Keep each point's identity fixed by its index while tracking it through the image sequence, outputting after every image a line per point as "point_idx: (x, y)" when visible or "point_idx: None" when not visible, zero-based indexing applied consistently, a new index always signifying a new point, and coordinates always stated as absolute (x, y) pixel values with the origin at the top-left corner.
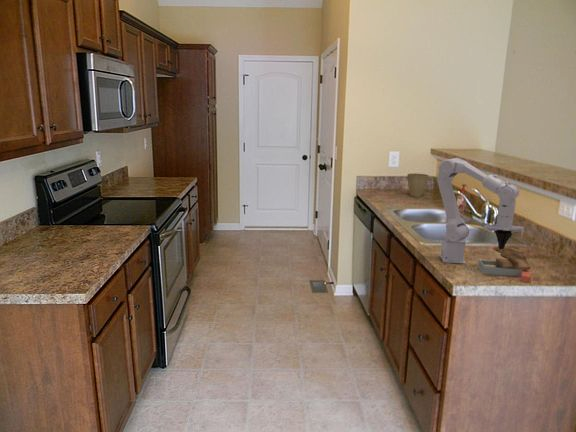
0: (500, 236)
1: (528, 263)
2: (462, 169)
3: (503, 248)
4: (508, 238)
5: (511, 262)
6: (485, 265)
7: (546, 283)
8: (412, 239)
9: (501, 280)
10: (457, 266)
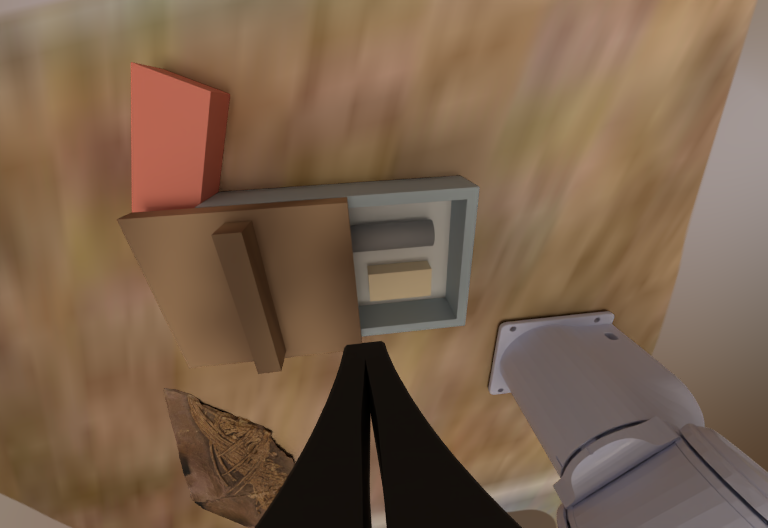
0: (472, 515)
1: (168, 408)
2: None
3: (347, 349)
4: (283, 500)
5: (268, 289)
6: (430, 282)
7: (20, 83)
8: None
9: (372, 74)
10: (561, 276)
